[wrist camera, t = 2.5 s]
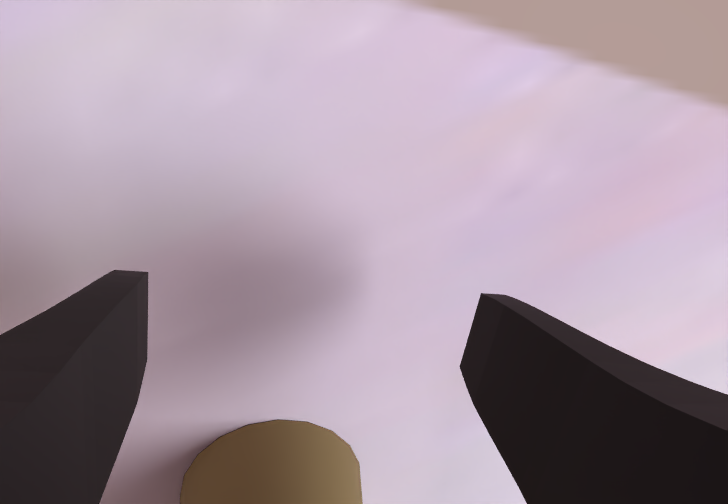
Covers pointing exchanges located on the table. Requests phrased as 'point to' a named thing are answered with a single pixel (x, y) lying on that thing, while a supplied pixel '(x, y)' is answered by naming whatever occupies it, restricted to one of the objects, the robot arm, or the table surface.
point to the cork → (274, 467)
